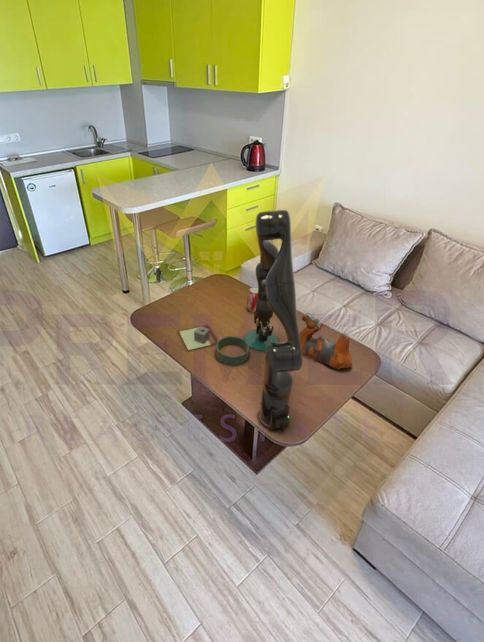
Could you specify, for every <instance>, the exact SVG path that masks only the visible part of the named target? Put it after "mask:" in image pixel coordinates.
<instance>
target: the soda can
mask: <svg viewBox="0 0 484 642" xmlns="http://www.w3.org/2000/svg"><path fill="white" fill-rule="evenodd" d="M257 297H258V286H252V287H250V288H249V290H248V292H247V298H246V310H247V311H248V312H250V313H254V311H256V301H257Z"/></svg>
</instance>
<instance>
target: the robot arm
mask: <svg viewBox="0 0 484 642" xmlns="http://www.w3.org/2000/svg"><path fill="white" fill-rule="evenodd" d="M255 233H256V240H257V245H258V249H259V262H258V263H257V264H256V265H255V270H254V271H255V278H256V280H257V287H258V297H257V301H256V311H254V312H253V322H254V323H253V324H255V327H256V329H255V330H256V333H257V334H259V328H261V330H262V331H263V336H262V341H263V342H265V341H267V338H268V336H271V334H272V333H273V330H274V325H271V319H272V318H273V316H274V315H275V316H276V317H277V319H278V320H279V322H280V324H281V325H282V327H283V329H284V332H285V335H286V339H287V341H278V342H275V343H269V344H268V345H267V348H266V351H265V357H264V374H263V377H264V378H263V384H262V392H261V399H260V400H261V401H260V403H259V404H260V408H259V415H258V418H259V421H260V423H261V424H262V425H263V426H265V428H269V430H270V431H274V430H277V429H280V432H284V431H285V427H286V426H287V425H289V423H290V416H289V414H290V408H291V407H290V399H291V393H292V387H293V381H294V379H293V376H292V375H291V373H290V372H297V371H300V370H301V369H302V366H303V355H302V349H301V342H300V336H299V333H300V330H299V324H298V314H297V297H296V295H297V293H296V283H295V282H296V281H295V274H294V265H293V264H294V263H293V253H292V252H293V250H292V221H291V215H290V213H289V211H288V210H287V209H276V210H275V209H274V210H265V211H260V212H258V213H257V215H256V216H255ZM274 240H276V241H277V240H280V241H281V244H280V248H278V247H277V245H276V244H275V243H274V242H272V241H274ZM265 330H266V332H265Z"/></svg>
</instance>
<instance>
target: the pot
mask: <svg viewBox="0 0 484 642" xmlns="http://www.w3.org/2000/svg"><path fill="white" fill-rule="evenodd" d="M229 345H235V346H238V347H241V348H242V349H244V351H245V352H244V353H241V354H240V355H228V354H224V353H223V352H222V351H220V349H221V348H222V347H224V346H229ZM215 346H216V347H215V357H216V359H217V360H218V361H219V362H220V363H223V364H226V365H228V366H236V365H237V366H238V365H242V364H244V363H245V362H246V361H247V360H248V358H249V355H250V347H249V344H248V343H247V342H246V341H245V338H242V337H240V336H236V335H228V336H223V337H221V338H220V339H219V340H217V342H216V345H215Z"/></svg>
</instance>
